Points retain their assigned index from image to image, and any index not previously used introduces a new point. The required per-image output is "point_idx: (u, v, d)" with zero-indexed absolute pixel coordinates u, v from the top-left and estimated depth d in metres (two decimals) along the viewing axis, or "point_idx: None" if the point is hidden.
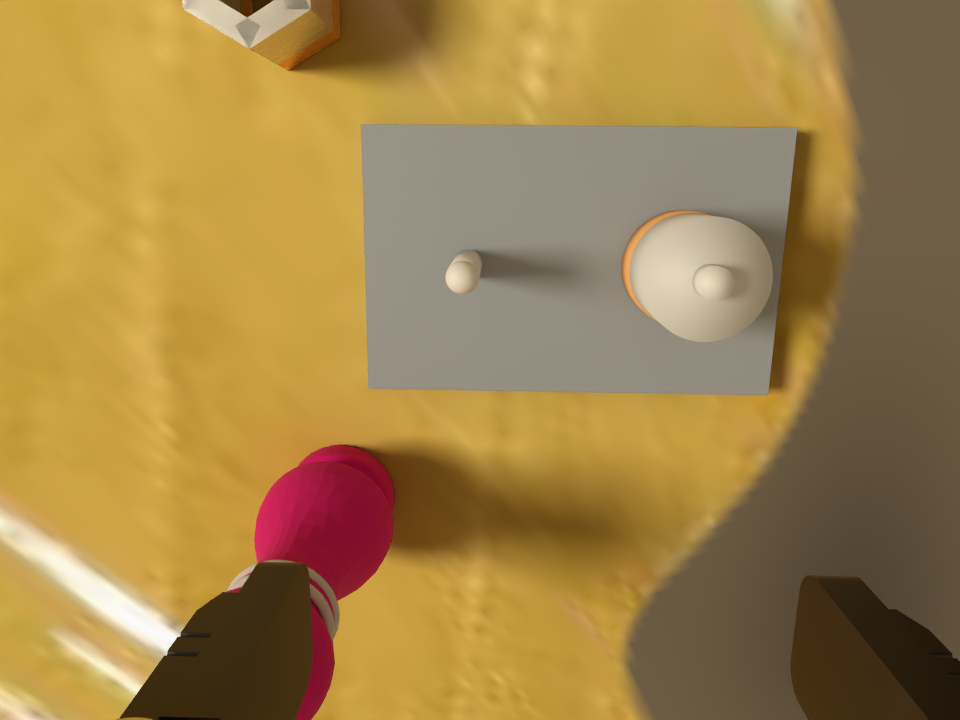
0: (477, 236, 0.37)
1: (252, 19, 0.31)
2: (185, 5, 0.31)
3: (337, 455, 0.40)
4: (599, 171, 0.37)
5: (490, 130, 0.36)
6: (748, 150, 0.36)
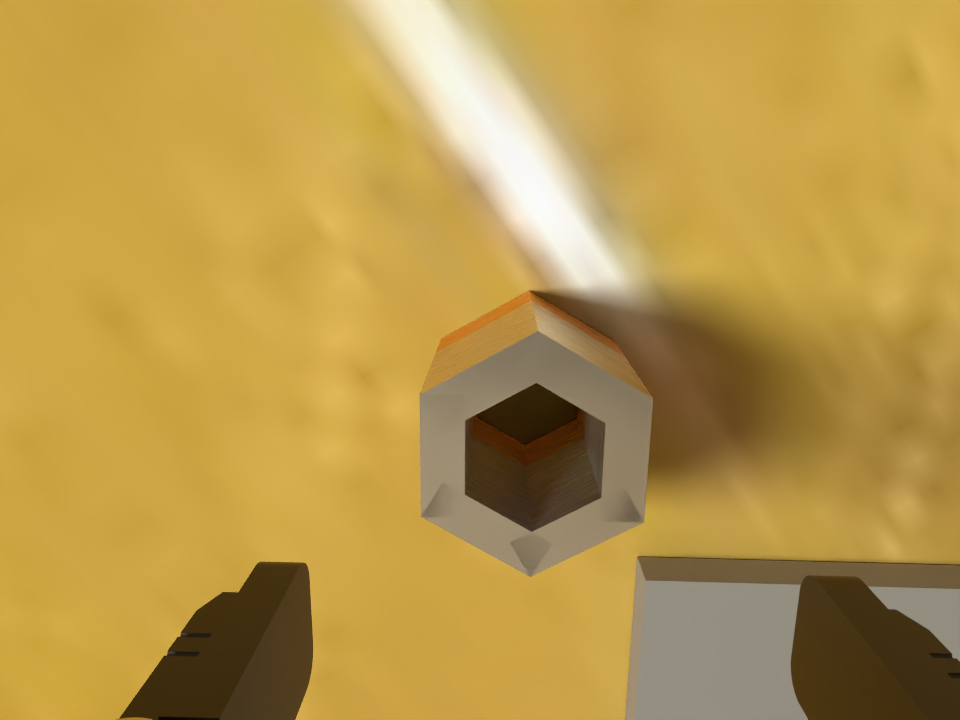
0: None
1: (539, 534, 0.18)
2: (425, 511, 0.18)
3: None
4: None
5: None
6: None
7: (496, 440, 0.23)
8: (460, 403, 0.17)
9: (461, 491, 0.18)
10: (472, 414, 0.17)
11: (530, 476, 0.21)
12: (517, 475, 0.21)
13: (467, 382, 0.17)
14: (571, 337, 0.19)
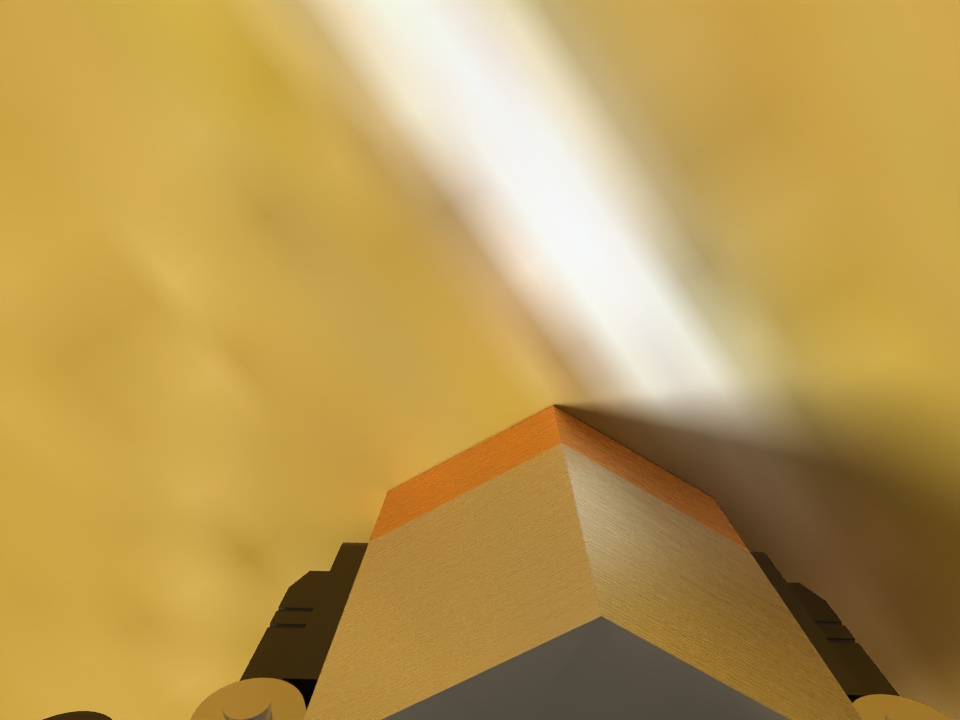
0: None
1: None
2: None
3: None
4: None
5: None
6: None
7: None
8: None
9: None
10: None
11: None
12: None
13: None
14: (663, 565, 0.08)
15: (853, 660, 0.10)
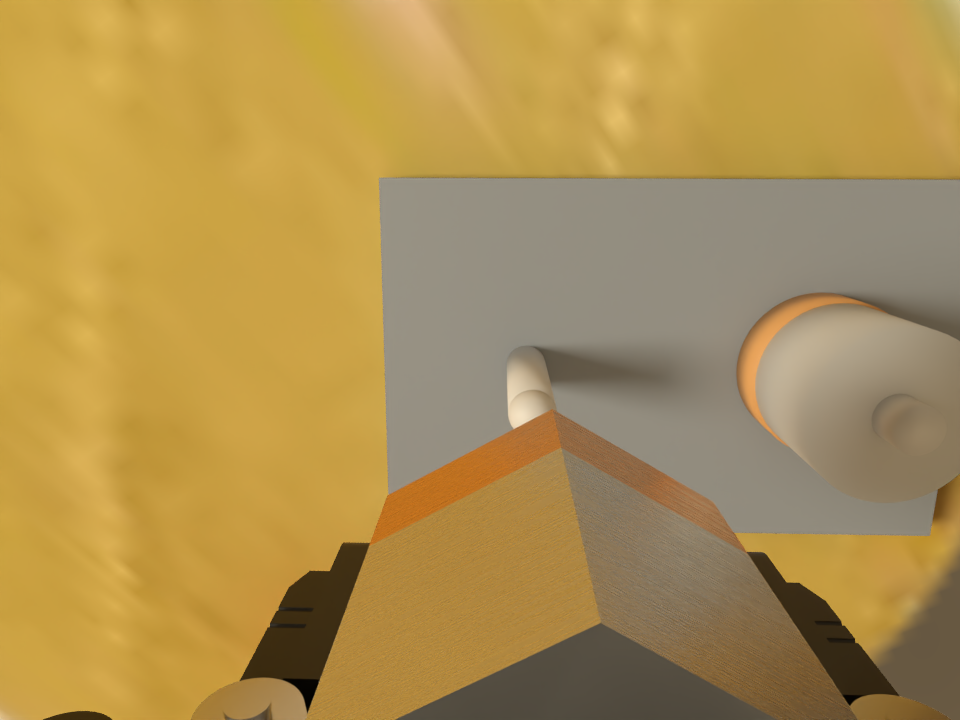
0: (539, 328, 0.27)
1: None
2: None
3: None
4: (711, 241, 0.26)
5: (559, 186, 0.26)
6: (920, 211, 0.26)
7: None
8: None
9: None
10: None
11: None
12: None
13: None
14: (663, 570, 0.08)
15: (853, 660, 0.10)
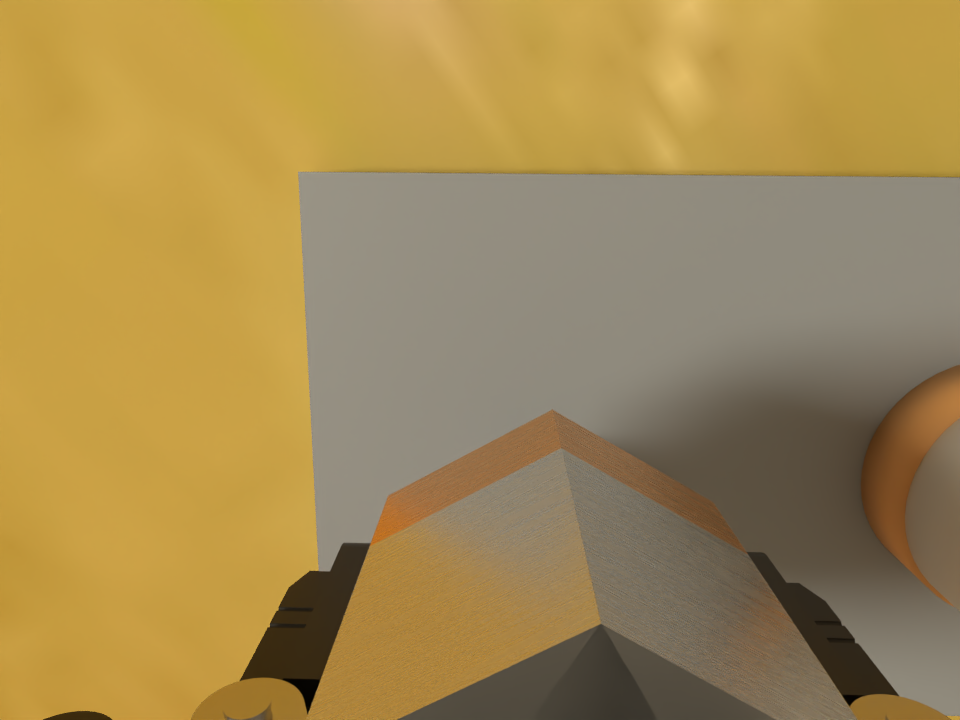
0: None
1: None
2: None
3: None
4: (830, 276, 0.16)
5: (589, 187, 0.16)
6: None
7: None
8: None
9: None
10: None
11: None
12: None
13: None
14: (663, 571, 0.08)
15: (853, 660, 0.10)
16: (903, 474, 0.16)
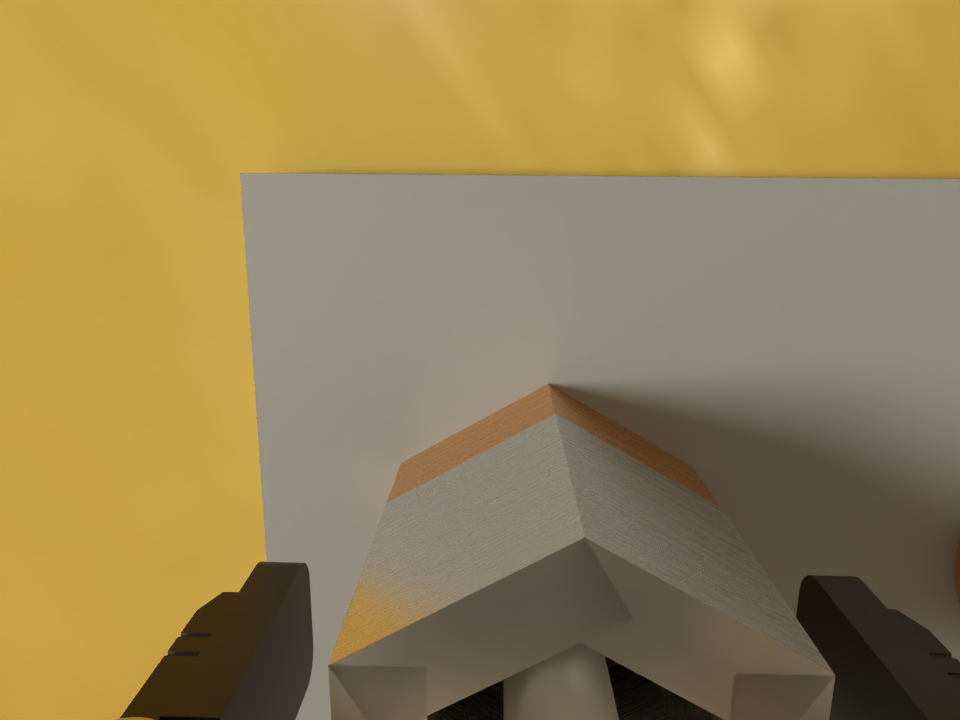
0: None
1: None
2: None
3: None
4: (924, 307, 0.13)
5: (615, 192, 0.12)
6: None
7: None
8: (414, 682, 0.08)
9: None
10: (442, 703, 0.08)
11: None
12: None
13: (430, 642, 0.08)
14: (641, 510, 0.09)
15: None
16: None
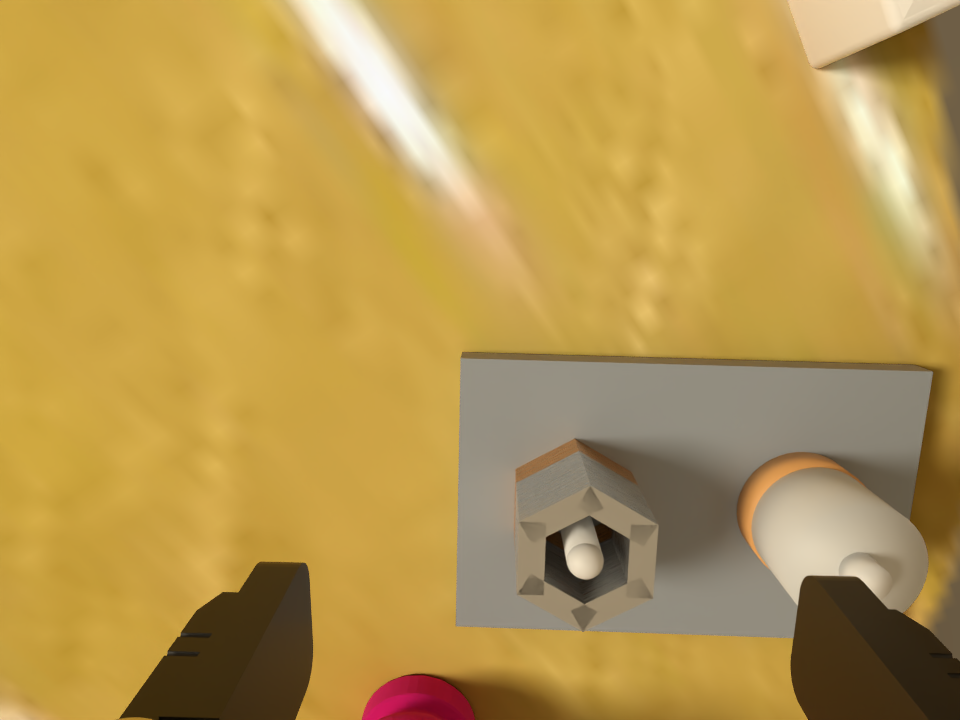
0: None
1: (589, 605, 0.29)
2: (519, 591, 0.29)
3: (418, 694, 0.37)
4: (717, 411, 0.34)
5: (601, 368, 0.33)
6: (879, 393, 0.33)
7: (552, 537, 0.34)
8: (543, 526, 0.29)
9: (542, 578, 0.29)
10: (550, 533, 0.29)
11: None
12: None
13: (548, 514, 0.29)
14: (607, 482, 0.30)
15: None
16: (750, 509, 0.33)
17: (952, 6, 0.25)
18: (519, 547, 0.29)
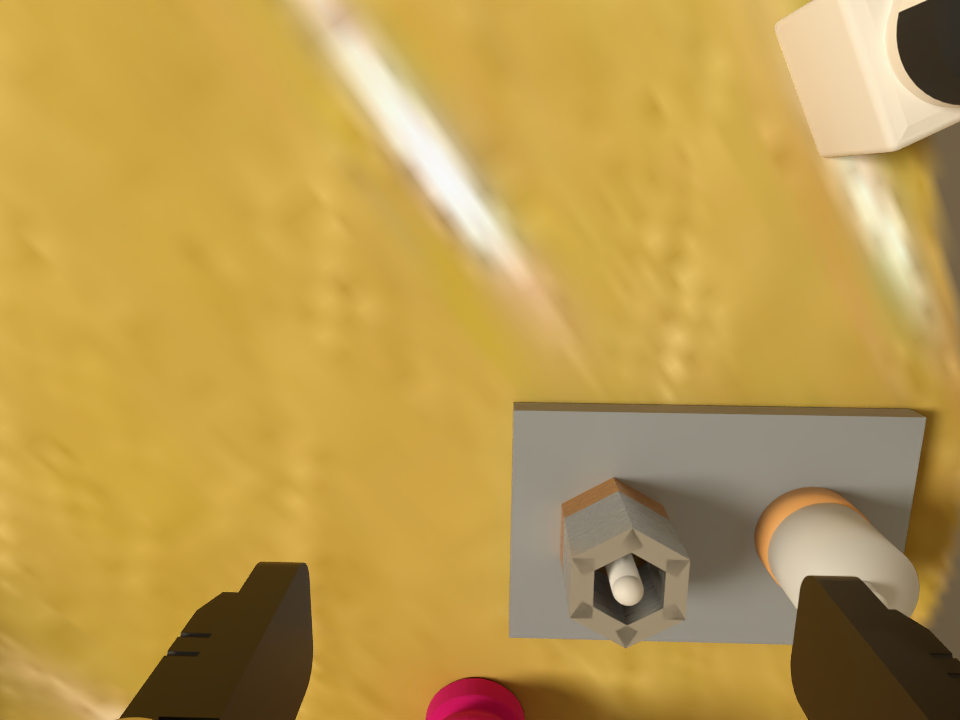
0: None
1: (630, 626, 0.35)
2: (571, 615, 0.35)
3: (477, 695, 0.43)
4: (737, 453, 0.39)
5: (636, 417, 0.38)
6: (879, 436, 0.38)
7: None
8: (592, 562, 0.34)
9: (590, 604, 0.35)
10: (598, 567, 0.34)
11: None
12: None
13: (596, 552, 0.34)
14: (645, 521, 0.35)
15: None
16: (767, 538, 0.38)
17: (940, 129, 0.30)
18: (572, 579, 0.34)
